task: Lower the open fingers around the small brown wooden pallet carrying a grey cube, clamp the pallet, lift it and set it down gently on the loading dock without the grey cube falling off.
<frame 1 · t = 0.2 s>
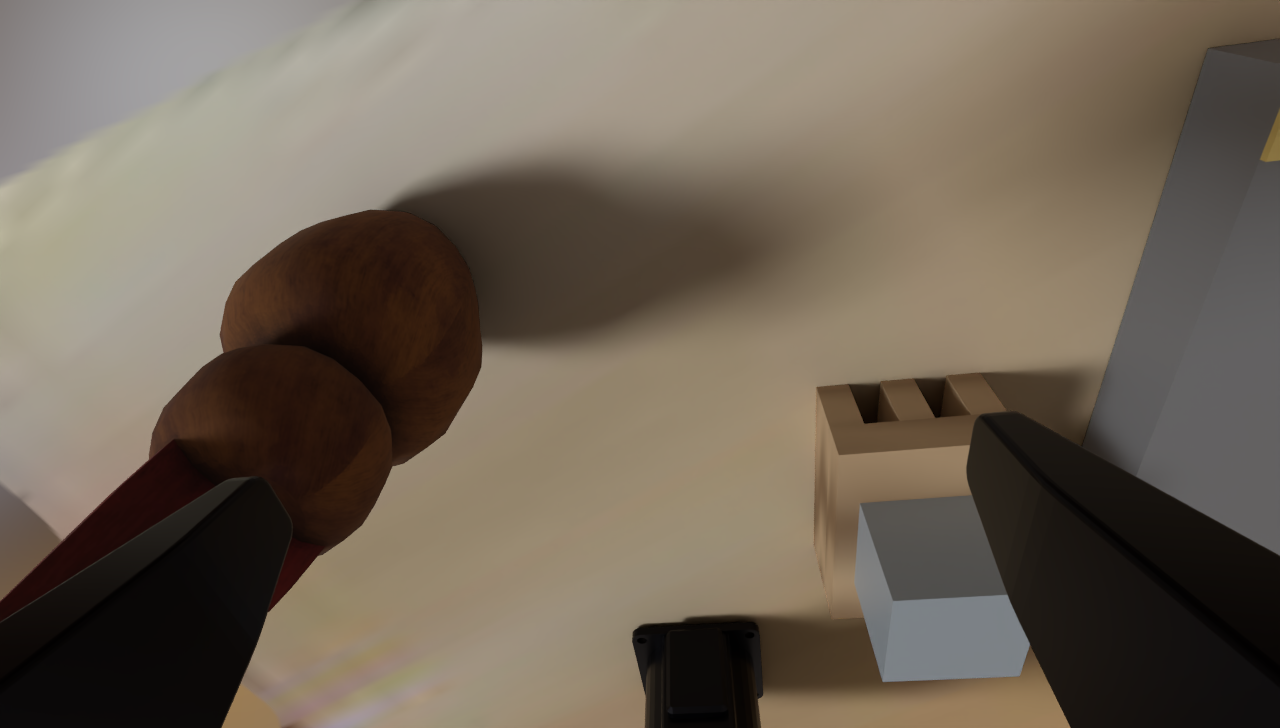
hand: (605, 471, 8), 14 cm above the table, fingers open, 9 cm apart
pallet: (887, 465, 27), on the table, touching grey cube
grey cube: (918, 541, 24), point 4 cm above the table, touching pallet
wooden figurine: (414, 272, 23), on the table
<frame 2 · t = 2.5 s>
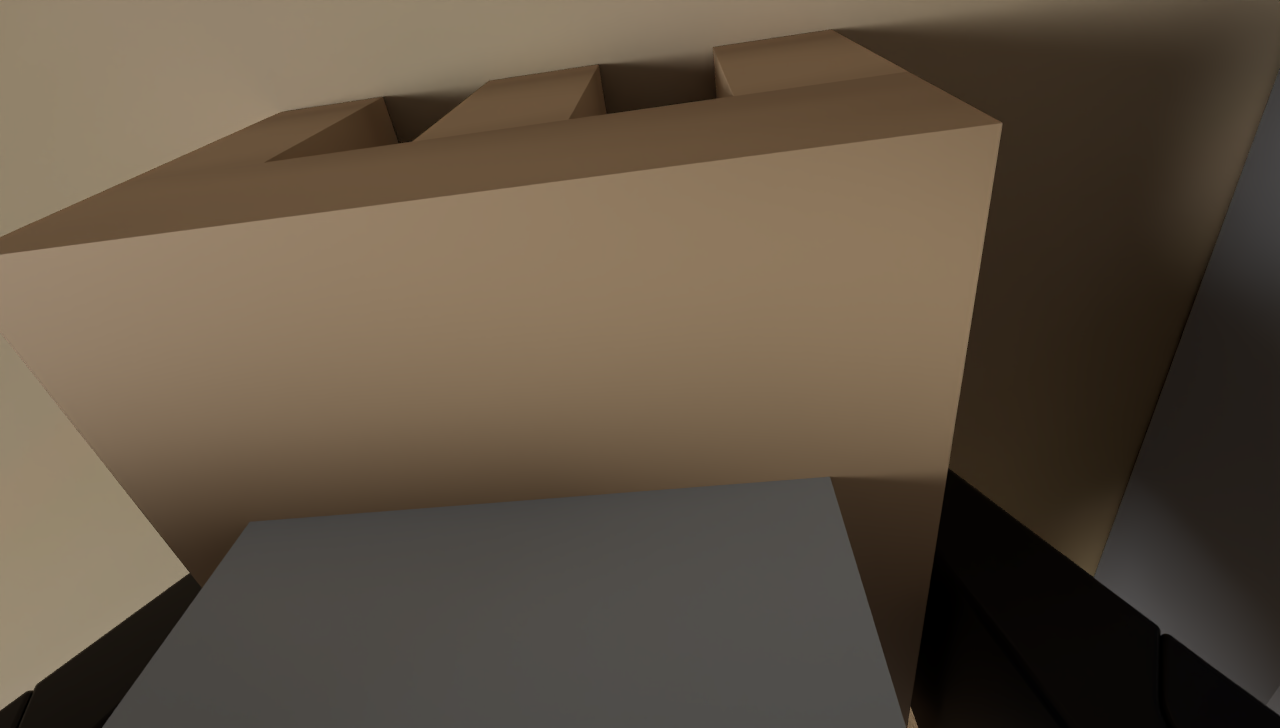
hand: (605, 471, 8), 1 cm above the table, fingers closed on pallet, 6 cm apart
pallet: (612, 408, 9), on the table, touching grey cube, gripper
grey cube: (581, 671, 6), point 4 cm above the table, touching pallet
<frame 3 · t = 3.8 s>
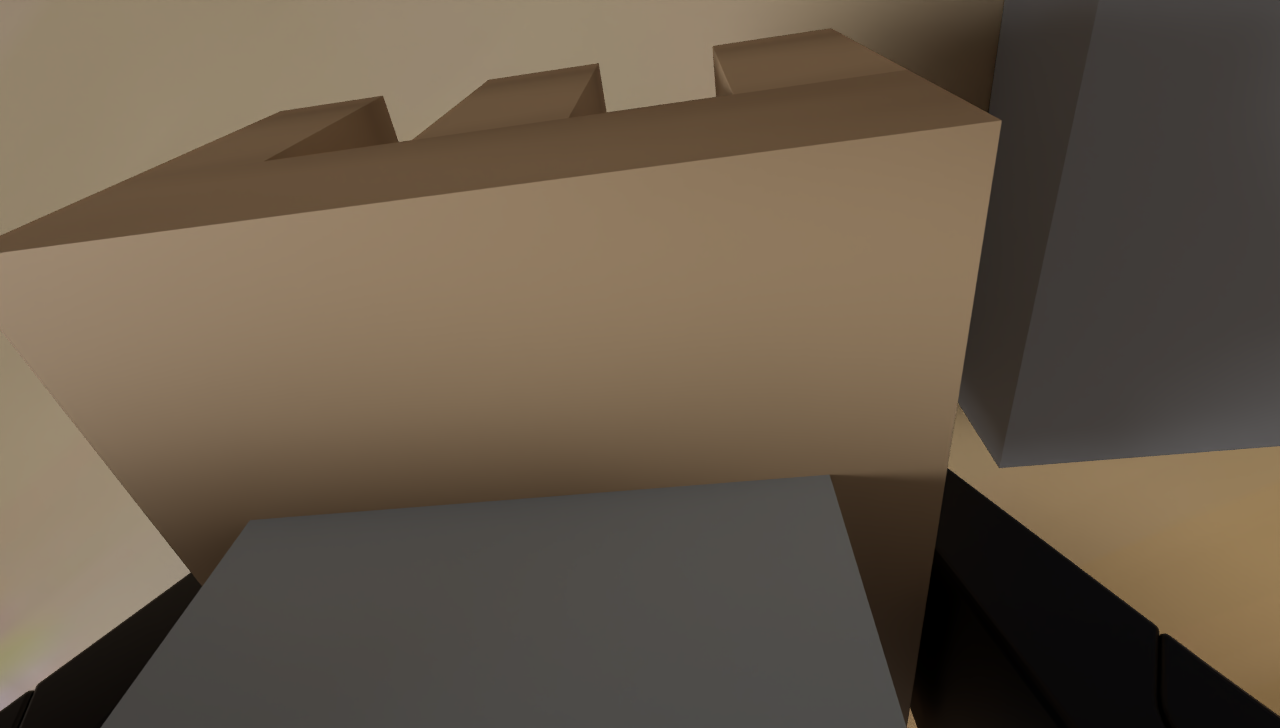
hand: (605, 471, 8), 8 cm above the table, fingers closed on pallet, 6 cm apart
pallet: (612, 407, 9), point 6 cm above the table, touching grey cube, gripper
grey cube: (581, 669, 6), point 10 cm above the table, touching pallet
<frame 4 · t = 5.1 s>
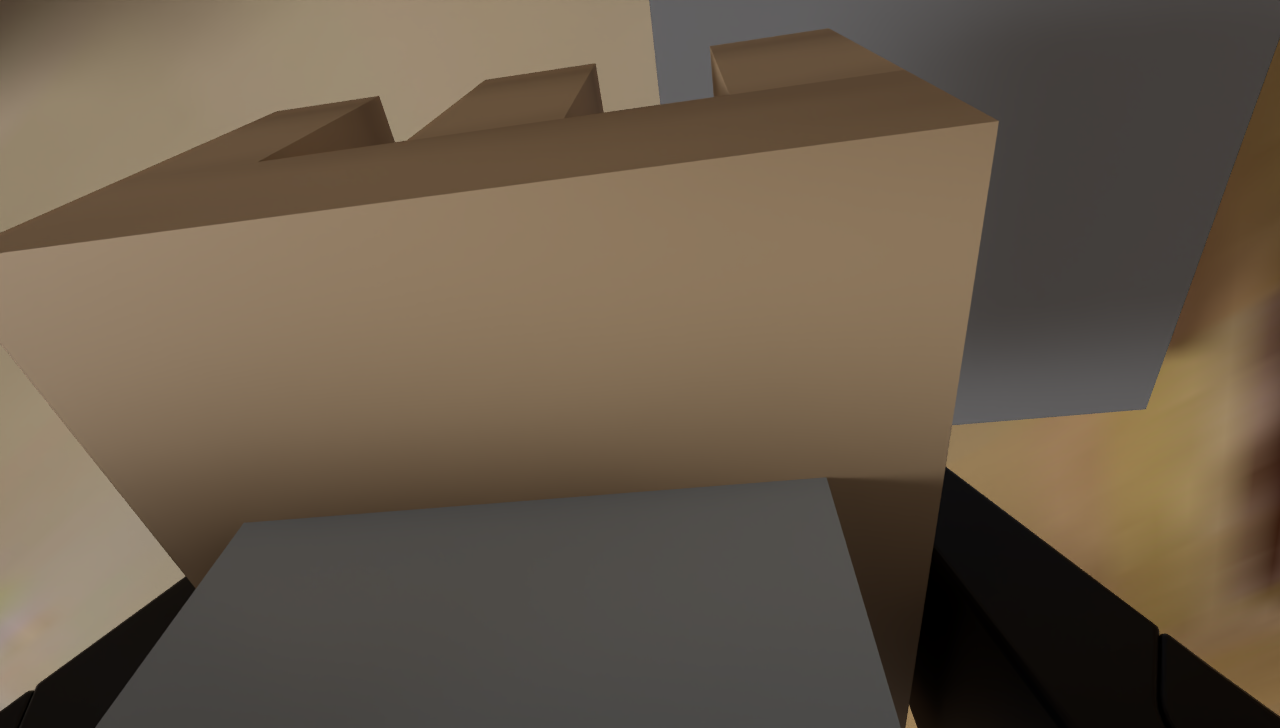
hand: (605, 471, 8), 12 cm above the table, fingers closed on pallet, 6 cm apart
pallet: (610, 408, 9), point 11 cm above the table, touching grey cube, gripper
dock: (913, 48, 16), on the table
grey cube: (578, 672, 6), point 15 cm above the table, touching pallet
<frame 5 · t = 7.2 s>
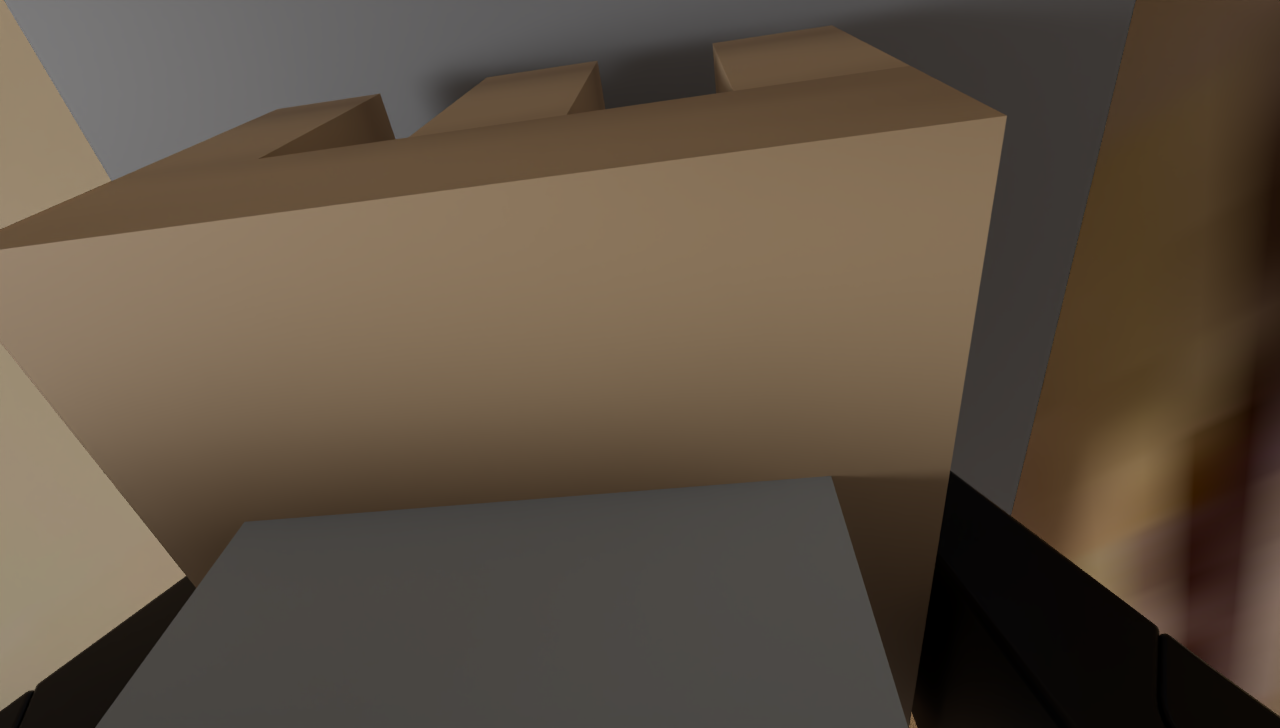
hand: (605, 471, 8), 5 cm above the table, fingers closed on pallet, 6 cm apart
pallet: (611, 407, 9), point 4 cm above the table, touching grey cube, gripper
dock: (631, 278, 13), on the table
grey cube: (580, 672, 6), point 8 cm above the table, touching pallet
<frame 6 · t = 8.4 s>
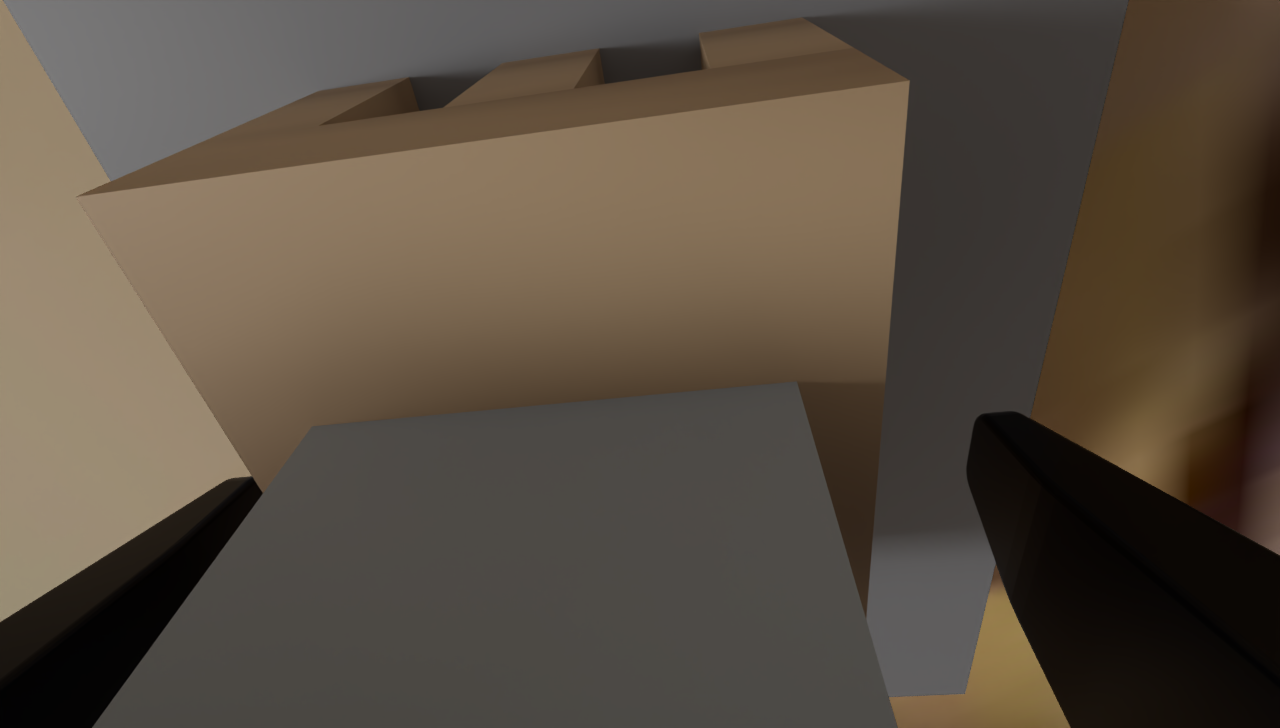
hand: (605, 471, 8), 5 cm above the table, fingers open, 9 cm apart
pallet: (611, 363, 10), point 3 cm above the table, touching grey cube, dock
dock: (629, 279, 13), on the table
grey cube: (589, 568, 7), point 7 cm above the table, touching pallet
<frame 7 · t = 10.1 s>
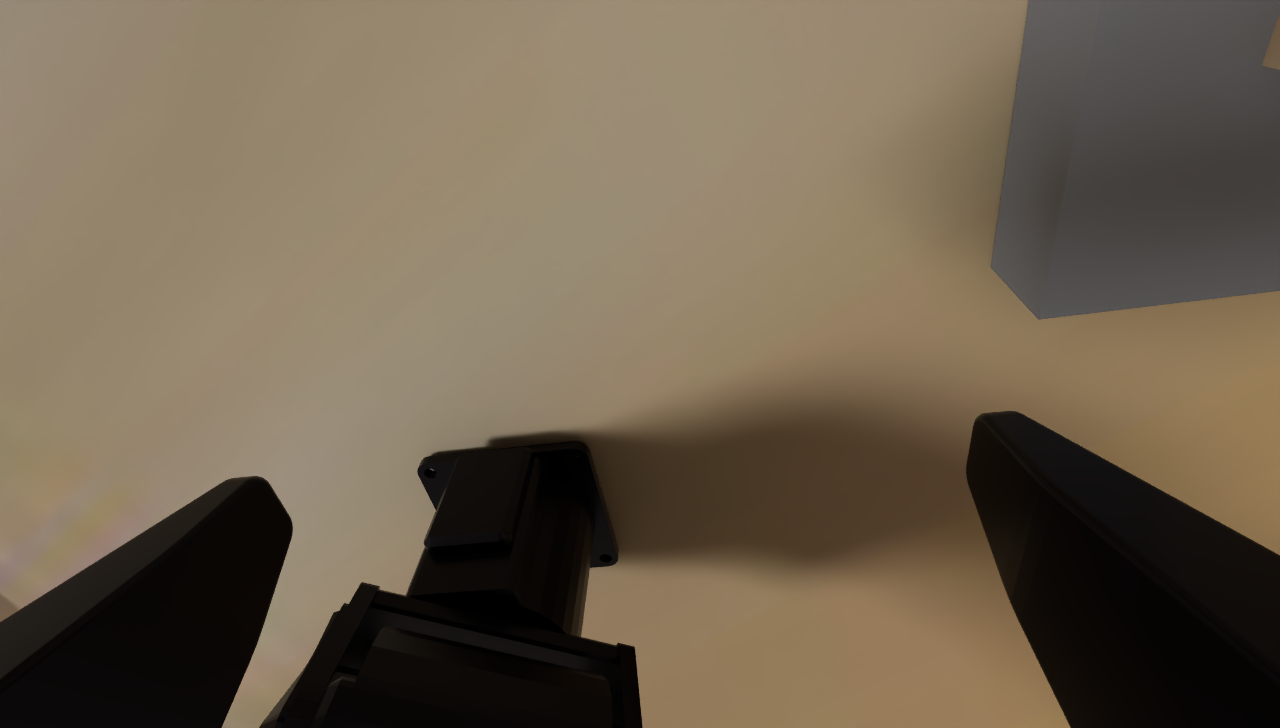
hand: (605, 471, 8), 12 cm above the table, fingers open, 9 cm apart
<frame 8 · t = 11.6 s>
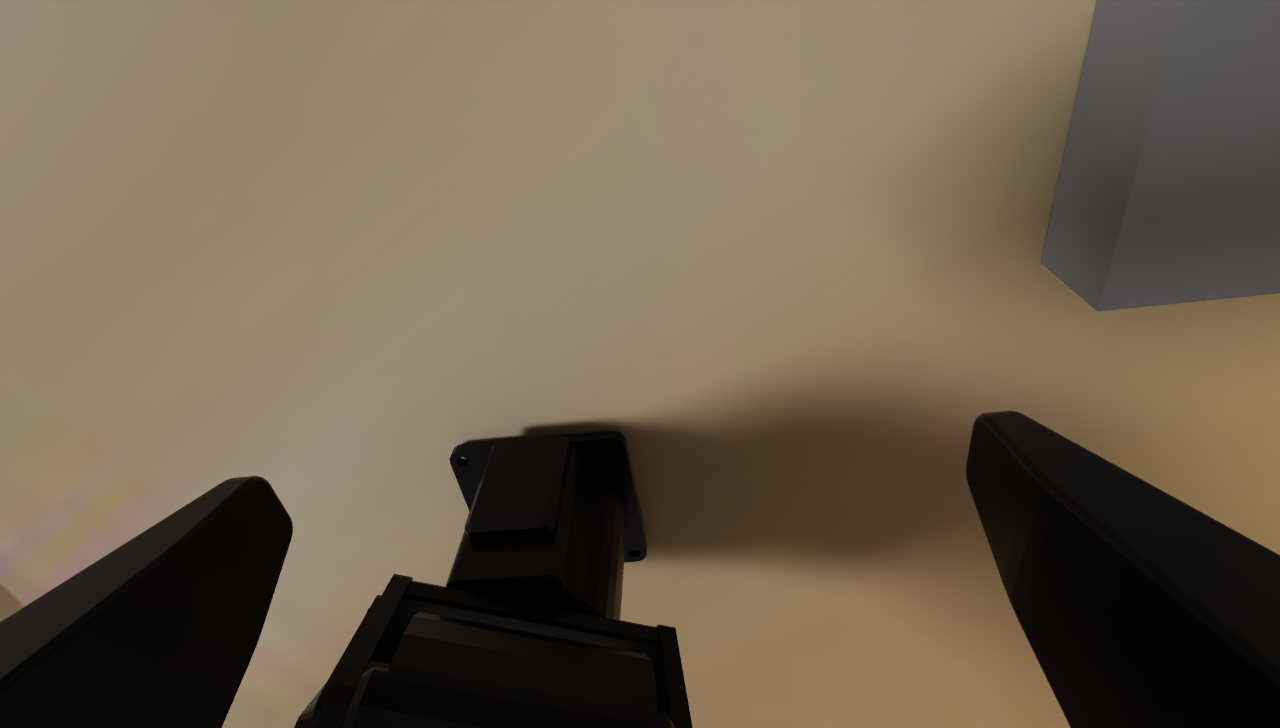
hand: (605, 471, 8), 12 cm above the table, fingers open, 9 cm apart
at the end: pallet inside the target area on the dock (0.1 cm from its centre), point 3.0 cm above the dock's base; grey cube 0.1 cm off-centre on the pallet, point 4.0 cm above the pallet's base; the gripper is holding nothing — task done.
